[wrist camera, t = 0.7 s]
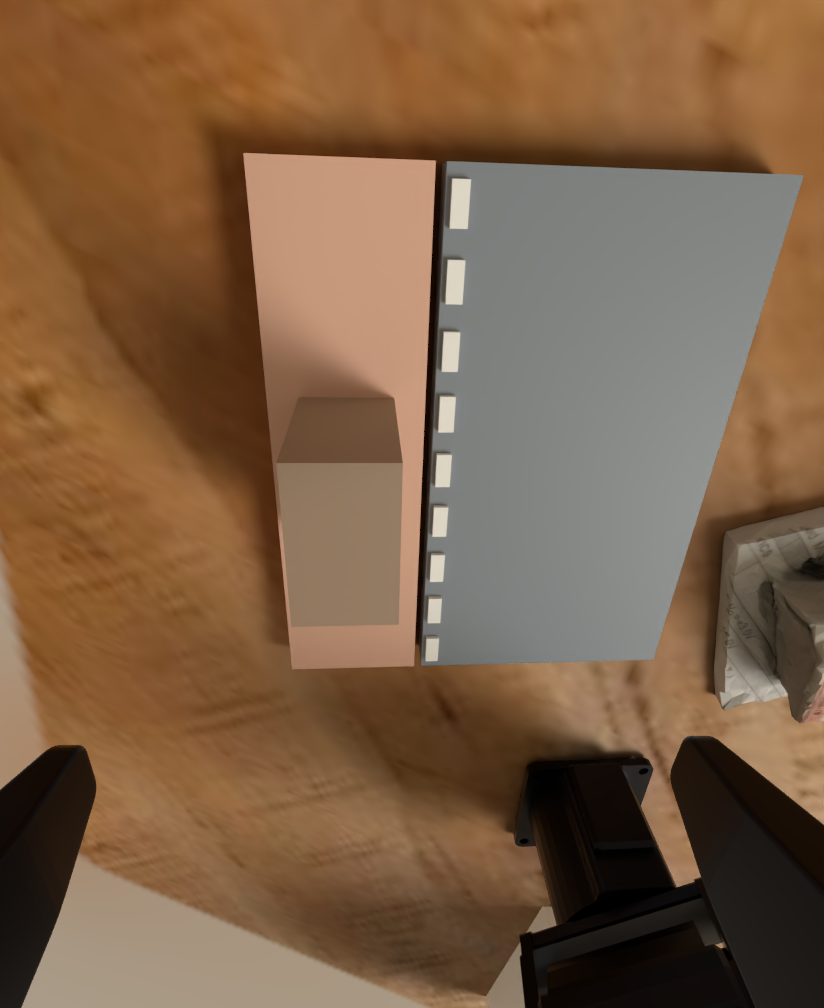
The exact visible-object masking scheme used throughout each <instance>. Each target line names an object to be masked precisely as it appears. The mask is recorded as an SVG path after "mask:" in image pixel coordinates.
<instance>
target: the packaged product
mask: <svg viewBox="0 0 824 1008" xmlns="http://www.w3.org/2000/svg"><path fill="white" fill-rule="evenodd" d="M714 683H715V695H716V697H717V699H718V701H719V703H720V705H721V707H722V708H723V710H726V709H729V708H732V707H735V706H738V705H741V704H744V703H748V702H752V701H759V702H766V701H769V700H773V699H776V698H779V697H785V696H788V699H789V704H790V710H791V715H792V717H793V718H794V719H795V720H796V721H798V722H799V723H809V722H817V721H824V506H823V507H819V508H815V509H811V510H807V511H803V512H799V513H795V514H791V515H787V516H783V517H779V518H774V519H770V520H766V521H762V522H758V523H754V524H750V525H746V526H742V527H739V528H736V529H733V530H730V531H727V532H725V537H724V542H723V554H722V568H721V583H720V600H719V610H718V620H717V633H716V647H715V661H714Z"/></svg>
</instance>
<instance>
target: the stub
mask: <svg viewBox="0 0 824 1008" xmlns="http://www.w3.org/2000/svg"><path fill="white" fill-rule="evenodd" d="M243 156H244V166H245V177H246V187H247V198H248V209H249V219H250V230H251V240H252V251H253V262H254V272H255V283H256V293H257V304H258V315H259V325H260V336H261V346H262V357H263V368H264V378H265V389H266V399H267V410H268V421H269V431H270V442H271V452H272V463H273V473H274V484H275V495H276V505H277V516H278V526H279V537H280V548H281V558H282V569H283V579H284V590H285V601H286V611H287V622H288V632H289V643H290V654H291V664H292V669H327V668H364V667H400V666H414V653H415V630H416V607H417V584H418V561H419V538H420V515H421V492H422V468H423V445H424V422H425V399H426V376H427V353H428V330H429V307H430V284H431V261H432V238H433V215H434V192H435V169H436V161H433V160H408V159H383V158H358V157H333V156H307V155H282V154H257V153H243Z"/></svg>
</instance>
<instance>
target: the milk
mask: <svg viewBox="0 0 824 1008" xmlns="http://www.w3.org/2000/svg"><path fill="white" fill-rule="evenodd" d="M554 926H557V925H556V921H555V918H554V914H553V910H552V907H544V906H543V907H542V908H541V910H540V911H539V913H538V914H537V916H536V918H535V919H534V921H533V922H532V924H531V926H530V927H529V929H528V930H527V932H530V931H531V932H532V933H535V932H538V931H541V930H544V929H547V928H551V927H554ZM527 932H526V933H527ZM520 955H522V954H521V945H520V943H519V945H518V946H517V948H516V949H515V951H514V952H513V954H512V956H511V957H510V959H509V960H508V962H507V964H506V965H505V967H504V968H503V970H502V972H501V973H500V975H499V976H498V978H497V979H496V981H495V983H494V984H493V986H492V987H491V989H490V991H489V992H488V994H487V995H486V1000H487V1005H488V1008H525V1003H524V994H523V985H522V975H521V966H520Z"/></svg>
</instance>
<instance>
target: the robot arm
mask: <svg viewBox="0 0 824 1008" xmlns="http://www.w3.org/2000/svg"><path fill="white" fill-rule="evenodd" d="M652 772H653V767H652V765H651V763H650V761H649V760H648V759H646V758H631V759H607V760H582V761H558V762H536V763H532V764H530V765H529V766H528V767H527V768H526V772H525V777H524V782H523V788H522V793H521V798H520V803H519V808H518V814H517V819H516V824H515V829H514V834H513V835H514V840H515V844H516V845H517V846H521V847H525V846H536V848H537V852H538V856H539V860H540V863H541V867H542V871H543V875H544V879H545V883H546V887H547V890H548V894H549V898H550V902H551V906H552V910H553V914H554V918H555V921H556V925H557V926H554V927H551V928H547V929H544V930H541V931H538V932H535V933H532V932H531V931H530V932H527V933H523V934H520V945H521V954H522V955H520V966H521V975H522V985H523V994H524V1003H525V1008H824V825H823V824H822V823H821V822H820V821H818V820H817V819H816V818H815V817H813V816H812V815H811V814H810V813H808V812H807V811H806V810H805V809H803V808H802V807H801V806H800V805H798V804H797V803H796V802H795V801H794V800H792V799H791V798H790V797H789V796H787V795H786V794H785V793H784V792H782V791H781V790H780V789H779V788H777V787H776V786H775V785H774V784H772V783H771V782H770V781H769V780H767V779H766V778H765V777H764V776H762V775H761V774H760V773H759V772H757V771H756V770H755V769H754V768H752V767H751V766H750V765H749V764H747V763H746V762H745V761H744V760H742V759H741V758H740V757H739V756H737V755H736V754H735V753H734V752H732V751H731V750H730V749H729V748H727V747H726V746H725V745H724V744H722V743H721V742H720V741H719V740H717V739H715V738H714V737H711V736H688V737H686V738H685V739H684V740H683V742H682V744H681V746H680V749H679V751H678V754H677V756H676V758H675V761H674V763H673V766H672V768H671V775H670V777H671V785H672V788H673V792H674V795H675V798H676V801H677V804H678V807H679V810H680V813H681V816H682V819H683V822H684V826H685V829H686V832H687V835H688V838H689V841H690V844H691V847H692V850H693V853H694V857H695V860H696V863H697V866H698V869H699V872H700V875H701V877H700V878H697V879H694V881H695V882H693V883H690V884H686V885H683V886H680V887H676V884H675V882H674V880H673V878H672V875H671V873H670V871H669V869H668V866H667V864H666V862H665V860H664V858H663V855H662V853H661V851H660V849H659V846H658V844H657V842H656V840H655V837H654V835H653V833H652V831H651V828H650V826H649V824H648V822H647V820H646V817H645V815H644V813H643V811H642V808H641V803H642V801H643V798H644V795H645V792H646V789H647V786H648V784H649V781H650V778H651V775H652ZM95 795H96V780H95V776H94V773H93V770H92V767H91V763H90V760H89V757H88V754H87V751H86V749H85V748H84V747H83V746H81V745H58V746H54V747H51V748H50V749H48V750H46V751H45V752H44V753H43V754H42V755H40V756H39V757H38V758H37V759H36V760H35V761H33V762H32V763H31V764H30V765H29V766H27V767H26V768H25V769H24V770H23V771H22V772H21V773H20V774H18V775H17V776H16V777H15V778H13V779H12V780H11V781H10V782H9V783H8V784H7V785H5V786H4V787H3V788H2V789H1V790H0V1008H21V1007H22V1005H23V1002H24V1000H25V997H26V995H27V992H28V990H29V988H30V985H31V982H32V980H33V978H34V975H35V973H36V971H37V968H38V966H39V963H40V961H41V958H42V956H43V953H44V951H45V949H46V946H47V944H48V942H49V939H50V937H51V934H52V931H53V929H54V926H55V924H56V921H57V918H58V916H59V913H60V910H61V907H62V904H63V901H64V898H65V895H66V892H67V888H68V885H69V881H70V878H71V875H72V872H73V868H74V865H75V861H76V859H77V855H78V852H79V849H80V846H81V842H82V839H83V836H84V832H85V829H86V826H87V823H88V819H89V816H90V813H91V809H92V806H93V803H94V799H95ZM719 943H722V944H723V946H724V948H722V949H721V948H719V947H717V946H716V944H719Z"/></svg>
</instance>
